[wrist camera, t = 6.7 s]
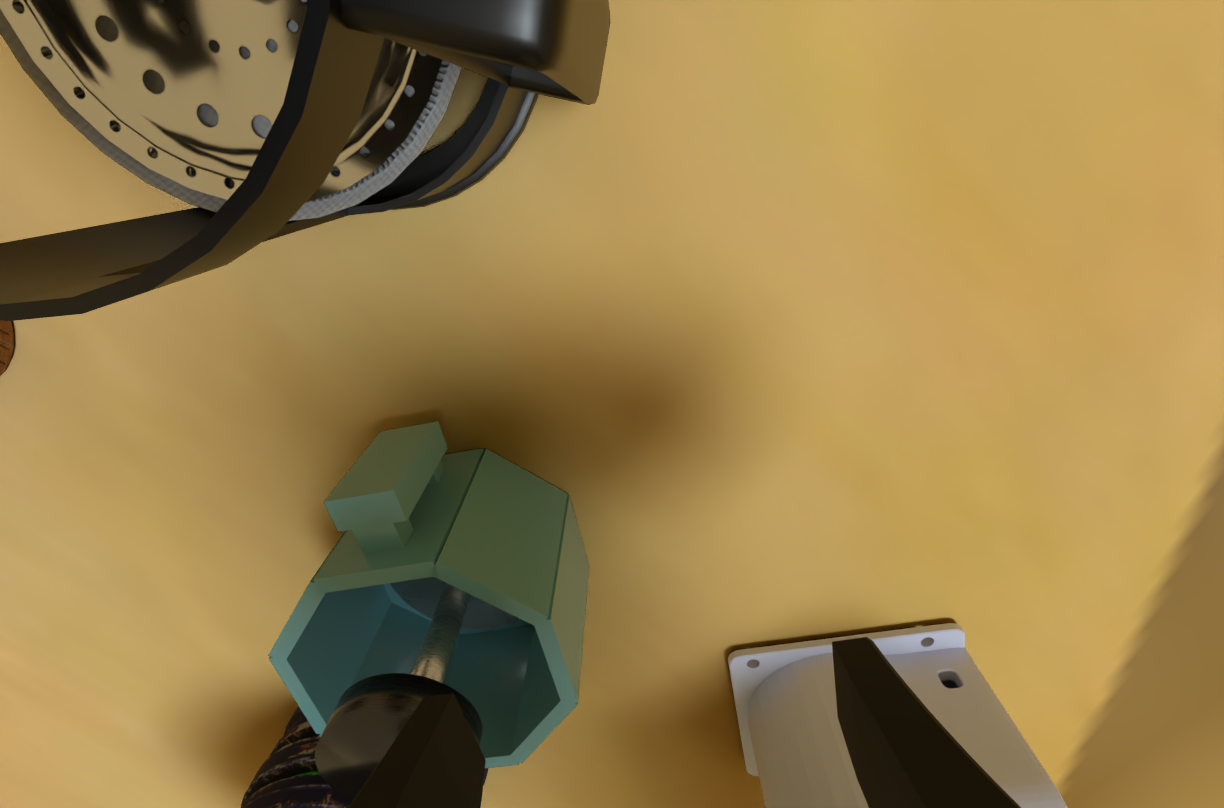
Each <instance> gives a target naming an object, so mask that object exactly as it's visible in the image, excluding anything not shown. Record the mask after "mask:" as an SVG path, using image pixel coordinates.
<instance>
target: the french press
mask: <svg viewBox="0 0 1224 808" xmlns="http://www.w3.org/2000/svg"><path fill="white" fill-rule="evenodd" d="M609 27H610V10H609V2H608V0H0V34H1V35H2V37H3V38H4V40H5V42H6V43H7V45H8V46H9V48H10V49H11V51H12V52H13V54H14V56H15V57H16V59H17V60H18V62H19V63H20V65H21V66H22V68H23V69H24V71H25V72H26V73H27V74H28V75H29V77H30V78H31V79H32V80H33V81H34V83H35V84H36V85H37V86H38V87H39V89H40V90H41V91H42V92H43V93H44V95H45V96H46V97H47V98H48V99H49V101H50V102H51V103H52V104H53V105H54V106H55V108H56V109H57V110H58V111H59V112H60V114H61V115H62V116H63V117H64V118H65V119H67V120H68V121H69V122H70V123H71V124H72V125H73V126H74V127H75V128H76V129H77V130H79V131H80V132H81V133H82V134H83V135H84V136H85V137H86V138H87V139H88V140H89V141H91V142H92V143H93V144H94V145H95V146H96V147H97V148H98V149H99V150H100V151H101V152H103V153H104V154H105V155H107V156H108V157H110V158H111V159H112V160H114V161H115V162H117V163H118V164H120V165H121V166H123V167H124V168H126V169H127V170H128V171H130V172H131V173H133V174H134V175H136V176H137V177H139V178H140V179H141V180H143V181H144V182H146V183H147V184H150V185H152V186H154V187H156V188H158V189H160V190H162V191H164V192H166V193H168V194H170V195H172V196H174V197H176V198H178V199H180V200H182V201H185V202H187V203H189V204H191V205H194V206H197V207H198V208H193V209H187V210H182V211H176V212H171V213H165V214H160V215H154V216H149V217H143V218H138V219H132V220H127V221H121V222H116V223H110V224H105V225H99V226H94V227H88V228H83V229H77V230H72V231H66V232H61V233H55V234H50V235H44V236H39V237H33V238H28V239H22V240H17V241H11V242H6V243H0V320H1V321H12V320H23V319H33V318H43V317H53V316H63V315H73V314H83V313H86V312H89V311H92V310H95V309H97V308H100V307H103V306H106V305H109V304H112V303H115V302H118V301H121V300H124V299H127V298H130V297H133V296H136V295H139V294H142V293H145V292H148V291H151V290H154V289H156V288H159V287H162V286H165V285H168V284H171V283H174V282H177V281H180V280H183V279H186V278H189V277H192V276H195V275H198V274H201V273H204V272H207V271H209V270H212V269H215V268H218V267H221V266H224V265H227V264H228V263H230V262H232V261H233V260H235V259H236V258H238V257H239V256H241V255H242V254H244V253H246V252H247V251H249V250H250V249H252V248H253V247H255V246H256V245H258V244H260V243H261V242H264V241H267V240H270V239H274V238H277V237H280V236H283V235H286V234H290V233H293V232H296V231H299V230H303V229H306V228H309V227H312V226H316V225H319V224H322V223H325V222H328V221H332V220H335V219H338V218H341V217H345V216H348V215H355V214H365V213H374V212H383V211H387V210H397V209H406V208H416V207H425V206H428V205H431V204H434V203H437V202H440V201H442V200H445V199H448V198H451V197H454V196H457V195H458V194H460V193H461V192H463V191H465V190H466V189H468V188H470V187H471V186H473V185H475V184H476V183H478V182H480V181H481V180H483V179H484V178H485V177H486V176H487V175H488V174H489V173H490V172H491V171H492V170H493V169H494V168H495V167H496V166H497V165H498V164H499V163H500V162H501V161H502V160H503V159H504V158H505V157H506V156H507V154H508V153H509V151H510V150H511V149H512V147H513V146H514V144H515V143H516V141H517V140H518V138H519V137H520V135H521V134H522V132H523V131H524V129H525V127H526V124H527V122H528V119H529V117H530V115H531V112H532V110H533V107H534V105H535V103H536V100H537V98H538V94H541V95H545V96H550V97H555V98H559V99H564V100H568V101H573V102H578V103H582V104H587V105H590V104H594V103H595V102H596V100H597V97H598V95H599V89H600V82H601V76H602V70H603V64H604V58H605V52H606V46H607V40H608V34H609ZM461 68H465V69H468V70H470V71H473V72H476V73H478V74H481V75H483V76H486V77H488V80H487V82H486V85H485V88H484V90H483V93H482V96H481V98H480V101H479V102H478V104H477V106H476V107H475V109H474V110H473V112H472V113H471V115H470V117H469V118H468V120H467V121H466V123H465V124H464V125H463V126H462V127H461V128H460V129H459V130H458V131H457V132H456V133H455V134H454V135H453V136H452V137H451V138H450V139H449V140H448V141H446V142H445V143H443V144H442V145H440V146H438V147H437V148H435V149H434V150H432V151H431V152H429V153H427V154H424V155H421V156H418V155H419V154H420V153H421V152H422V150H423V149H424V147H425V145H426V144H427V142H428V141H429V139H430V137H431V136H432V134H433V132H434V131H435V129H436V128H437V126H438V124H439V123H440V121H441V119H442V118H443V116H444V115H445V113H446V110H447V107H448V104H449V102H450V99H451V96H452V93H453V90H454V88H455V85H456V82H457V79H458V77H459V74H460V71H461ZM417 156H418V157H417Z"/></svg>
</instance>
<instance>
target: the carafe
mask: <svg viewBox="0 0 1224 808" xmlns="http://www.w3.org/2000/svg"><path fill="white" fill-rule="evenodd" d="M447 448H448V446H447V444H446V441H445V438H444V436H443V433H442V430H441V428H440V425H439V422H438V421H437V422H431V423H425V424H420V425H414V426H409V427H403V428H397V429H392V430H386V431H381V432H380V433H379V434H378V435H377V437H376V438H375V439H374V440H373V441H372V443H371V444H370V445H369V446H368V448H367V449H366V450H365V451H364V453H363V454H362V455H361V456H360V457H359V459H358V460H357V461H356V462H355V464H354V465H353V466H352V467H351V469H350V470H349V471H348V472H347V473H346V475H345V476H344V477H343V478H342V480H341V481H340V482H339V483H338V485H337V486H336V487H335V488H334V490H333V491H332V492H331V493H330V494H329V496H328V497H327V498H326V499H325V501H324V504H325V506H326V508H327V510H328V512H329V514H330V516H331V518H332V520H333V522H334V524H335V526H336V528H337V530H338V532H340V531H345V532H344V534H343V535H342V537H341V538H340V539H339V541H338V542H337V544H336V545H335V547H334V548H333V549H332V551H331V552H330V554H329V555H328V557H327V558H326V559H325V561H324V562H323V564H322V565H321V567H320V568H319V570H318V571H317V572H316V574H315V575H314V577H313V578H312V580H311V581H310V583H309V584H308V586H307V588H306V590H305V592H304V593H303V595H302V597H301V599H300V600H299V602H298V604H297V606H296V607H295V609H294V611H293V613H292V615H291V616H290V618H289V620H288V622H287V623H286V625H285V627H284V629H283V630H282V632H281V634H280V636H279V638H278V639H277V641H276V643H275V645H274V646H273V648H272V650H271V652H270V653H269V655H268V656H270V657H269V660H270V661H271V663H272V665H273V666H274V668H275V669H276V671H277V673H278V674H279V676H280V677H281V679H282V680H283V682H284V684H285V685H286V687H287V688H288V690H289V691H290V693H291V695H292V696H293V698H294V699H295V701H296V703H297V704H298V706H299V707H300V709H301V710H302V712H303V714H304V715H305V717H306V718H307V720H308V721H309V723H310V725H311V726H312V728H313V729H314V731H315V733H316V734H320V735H319V736H320V737H321V735H322V733H323V731H324V729H325V727H326V725H327V723H328V721H329V719H330V717H331V715H332V713H333V711H334V709H335V707H336V705H337V703H338V701H339V699H340V698H341V696H342V695H343V693H344V692H345V691H346V690H347V689H348V688H349V687H350V686H352V685H353V684H355V683H357V682H358V681H360V680H363V679H365V678H368V677H371V676H375V675H380V674H389V673H405V674H410V673H411V670H412V668H413V665H414V662H415V660H416V657H417V655H418V652H419V650H420V647H421V645H422V642H423V640H424V637H425V635H426V632H427V630H428V627H429V625H430V622H431V620H432V619H430V618H428V617H426V616H425V615H423V614H421V613H419V612H418V611H416V610H415V609H413V608H412V607H411V606H409V605H408V604H407V603H406V602H405V601H404V600H403V599H402V598H401V597H400V596H399V595H398V594H397V593H396V591H395V590H394V589H393V587H392V586H391V584H390V583H394V582H401V581H408V580H414V579H421V578H428V577H436V578H438V579H440V580H442V581H444V582H446V583H448V584H450V585H452V586H454V587H456V588H458V589H460V590H462V591H464V592H466V593H468V594H470V595H473V596H475V597H477V598H479V599H481V600H483V601H485V602H487V603H489V604H491V605H493V606H495V607H497V608H499V609H501V610H503V611H505V612H507V613H509V614H511V615H514V616H516V617H518V618H520V620H517V621H515V622H513V623H510V624H507V625H504V626H500V627H495V628H486V629H468V628H461V629H460V632H459V635H458V638H457V641H456V644H455V647H454V650H453V653H452V657H451V660H450V663H449V666H448V669H447V672H446V675H445V678H444V681H443V684H445V685H447V686H449V687H451V688H453V689H454V690H456V691H458V692H459V693H460V694H462V695H463V696H464V697H465V698H466V699H467V700H468V701H469V702H470V703H471V704H472V705H473V707H474V708H475V709H476V711H477V713H478V714H479V716H480V719H481V722H482V728H483V730H482V738H481V743H480V749H481V751H482V753H483V755H484V758H485V760H486V762H485V768H493V767H502V766H511V765H519V762H520V763H523V762H524V761H525V759H526V758H527V757H528V756H529V755H530V754H531V753H532V752H533V751H534V750H535V749H536V748H537V747H538V746H539V745H540V744H541V743H542V742H543V740H544V739H545V738H546V737H547V736H548V735H549V734H550V733H551V732H552V731H553V730H554V729H555V728H556V727H557V726H558V725H559V724H560V723H561V722H562V720H563V719H564V718H565V717H566V716H567V715H568V714H569V713H570V712H571V711H572V710H573V709H574V708H575V707H576V706H577V704H578V697H579V685H580V673H581V661H582V649H583V637H584V624H585V612H586V600H587V588H588V576H589V564H588V560H587V557H586V553H585V549H584V546H583V542H582V539H581V535H580V532H579V528H578V524H577V521H576V517H575V514H574V510H573V507H572V503H571V499H570V496H567V495H568V493H566V492H564V491H562V490H560V489H559V488H557V487H555V486H553V485H551V484H549V483H548V482H546V481H544V480H542V479H540V478H539V477H537V476H535V475H533V474H531V473H530V472H528V471H526V470H524V469H522V468H521V467H519V466H517V465H515V464H513V463H512V462H510V461H508V460H506V459H504V458H503V457H501V456H499V455H497V454H495V453H494V452H492V451H490V450H488V449H486V450H485V451H484V448H481V449H475V450H469V451H463V452H457V453H452V454H446V455H444V454H445V452H446V450H447Z"/></svg>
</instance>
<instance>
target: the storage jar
mask: <svg viewBox="0 0 1224 808" xmlns="http://www.w3.org/2000/svg"><path fill="white" fill-rule="evenodd" d="M319 735H320V734H316V733H315V731H314V729H313V728H312V726H311V725H310V723H309V721H308V720H307V718H306V717H305V715H304V714H303V712H302V710H301V709H300V707H298V708H297V710H296V711H295V713H294V714H293V716H292V718H291V719H290V721H289V723H288V725H287V727H286V730H285V733H284V736H283V737H282V738H281V739H280V740H279V742H278V743H277V745H276V746H275V748H274V749H273V751H272V753H271V755H270V756H269V758H268V759H266V760H265V761H264V763H263V764H262V766H261V767H260V769H259V771H258V772H257V774H256V776H255V778H254V779H253V781H252V783H251V784H250V786H249V788H248V790H247V791H246V793H245V795H244V798H243V801H242V804H241V808H348V807H349V806H350V804H351V803H352V801H350V800H348V799H346V798H345V797H343V796H342V795H340V794H339V793H337V792H336V791H335V790H334V789H332V788H331V787H330V786H329V785H328V784H327V783H326V781H325V780H324V779H323V778H322V776H321V774H320V773H319V771H318V769H317V766H316V762H315V749H316V746H317V743H318V741H319V739H320V736H319ZM487 772H488V768H485V771H484V780H483V785H484V783H485V779H486V776H487ZM481 800H482V798H481Z"/></svg>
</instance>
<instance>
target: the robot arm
mask: <svg viewBox="0 0 1224 808" xmlns="http://www.w3.org/2000/svg"><path fill="white" fill-rule="evenodd" d="M924 638H925V639H924ZM752 659H755V660H752ZM728 664H729V670H730V676H731V682H732V688H733V694H734V700H735V706H736V712H737V718H738V724H739V730H740V736H741V742H742V748H743V754H744V760H745V766H746V771H747V773H749V774H750V775H752V776H759V780H760V784H761V789H762V794H763V799H764V804H765V808H1067V806H1066V804H1065V802H1064V800H1063V799H1062V797H1061V795H1060V793H1059V791H1058V790H1057V788H1056V787H1055V785H1054V783H1053V782H1052V780H1051V778H1050V777H1049V775H1048V774H1047V772H1046V771H1045V769H1044V768H1043V766H1042V765H1041V763H1040V762H1039V760H1038V759H1037V757H1036V756H1035V754H1034V752H1033V751H1032V749H1031V748H1030V746H1029V745H1028V743H1027V742H1026V740H1025V739H1024V737H1023V736H1022V734H1021V733H1020V731H1019V730H1018V728H1017V727H1016V725H1015V723H1014V722H1013V720H1012V719H1011V717H1010V716H1009V714H1008V713H1007V711H1006V710H1005V708H1004V707H1003V705H1002V704H1001V702H1000V701H999V699H998V698H997V696H996V695H995V693H994V691H993V690H992V688H991V687H990V685H989V684H988V682H987V681H986V679H985V678H984V676H983V675H982V673H981V672H980V670H979V669H978V667H977V666H976V664H975V662H974V661H973V659H972V658H971V656H970V655H969V653H968V652H967V650H966V649H965V633H964V631H963V630H962V628H961V627H960V626H959V625H958V624H955V623H946V624H938V625H930V626H922V627H914V628H906V629H899V630H891V631H883V632H875V633H867V634H859V635H852V636H844V637H836V638H828V639H820V640H812V641H805V642H797V643H789V644H781V645H773V646H765V647H758V648H750V649H742V650H736V651H734V652H732V653H731V654H730V655H729V656H728ZM485 762H486V760H485V758H484V755H483V753H482V751H481V749H480V747H479V745H478V743H477V741H476V739H475V737H474V735H473V733H472V730H471V728H470V726H469V724H468V722H467V720H466V718H465V716H464V714H463V712H462V710H461V708H460V706H459V703H458V701H457V699H456V697H455V695H454V693H450V694H443V695H436V696H428V697H424V698H423V699H422V701H421V702H420V703H419V705H418V706H417V708H416V709H415V711H414V712H413V714H412V715H411V717H410V718H409V719H408V721H407V722H406V724H405V725H404V727H403V728H402V730H401V731H400V733H399V734H398V736H397V737H396V739H395V740H394V742H393V743H392V745H391V746H390V748H389V749H388V751H387V752H386V754H385V755H384V757H383V758H382V760H381V761H380V763H379V764H378V765H377V767H376V768H375V770H374V771H373V773H372V774H371V776H370V777H369V779H368V780H367V782H366V783H365V784H364V786H363V787H362V789H361V790H360V792H359V793H358V794H357V796H356V797H355V799H354V800H353V802H352V803H351V804H350V806H349V807H348V808H480V806H481V798H482V790H483V780H484V771H485Z"/></svg>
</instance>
